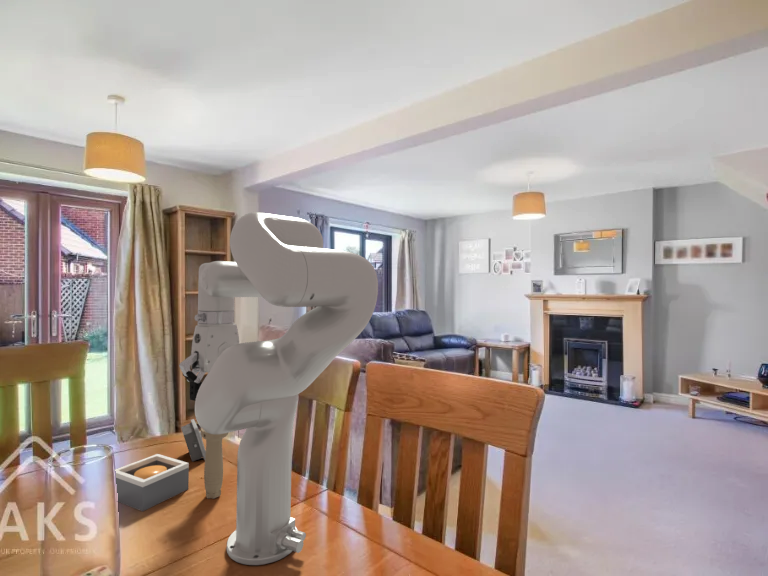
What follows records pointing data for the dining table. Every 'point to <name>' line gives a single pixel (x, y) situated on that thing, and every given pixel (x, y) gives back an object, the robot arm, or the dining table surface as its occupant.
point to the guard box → (151, 482)
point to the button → (149, 471)
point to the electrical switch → (194, 441)
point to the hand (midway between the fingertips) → (214, 395)
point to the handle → (213, 464)
